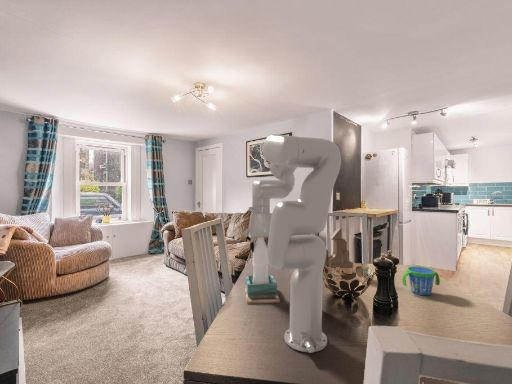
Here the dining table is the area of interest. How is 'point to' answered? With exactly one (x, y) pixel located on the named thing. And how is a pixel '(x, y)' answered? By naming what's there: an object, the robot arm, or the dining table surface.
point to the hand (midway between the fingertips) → (260, 250)
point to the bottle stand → (261, 291)
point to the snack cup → (421, 279)
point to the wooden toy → (338, 252)
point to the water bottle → (260, 262)
